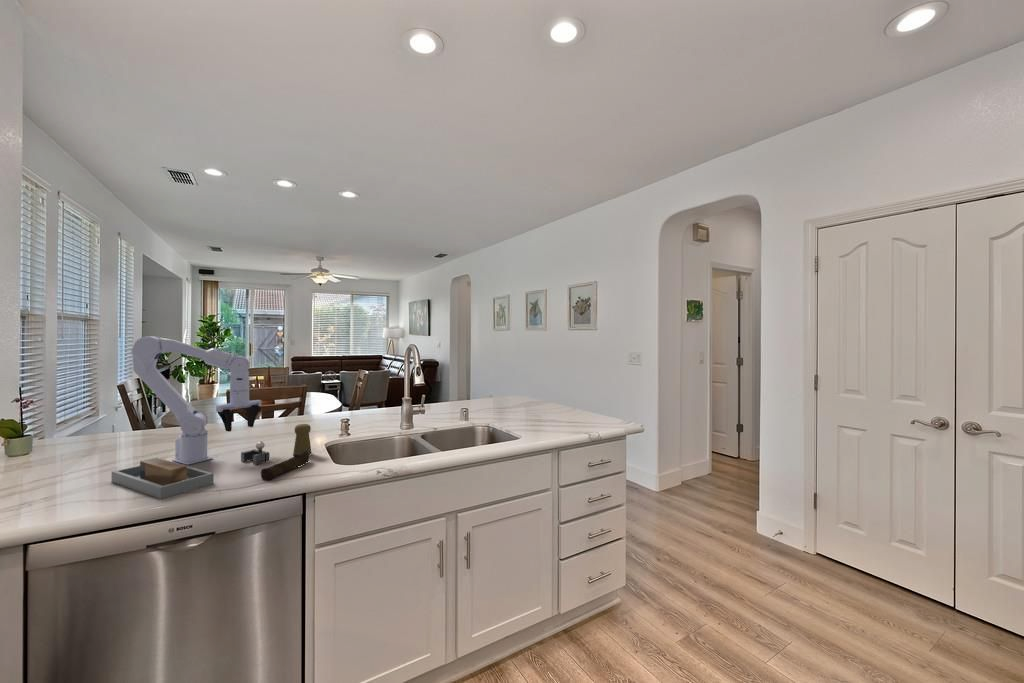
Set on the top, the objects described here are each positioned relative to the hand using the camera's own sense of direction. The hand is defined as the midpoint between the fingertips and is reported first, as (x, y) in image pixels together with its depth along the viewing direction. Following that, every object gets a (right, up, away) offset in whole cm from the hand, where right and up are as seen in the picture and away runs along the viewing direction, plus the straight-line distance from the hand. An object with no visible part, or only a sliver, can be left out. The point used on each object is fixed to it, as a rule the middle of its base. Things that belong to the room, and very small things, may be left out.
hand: (239, 428), depth 150 cm
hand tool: (+24, -11, -14) cm, 30 cm away
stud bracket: (+9, -10, -5) cm, 14 cm away
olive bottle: (+21, -10, +3) cm, 23 cm away
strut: (-5, -9, -27) cm, 29 cm away
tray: (-5, -10, -27) cm, 29 cm away
